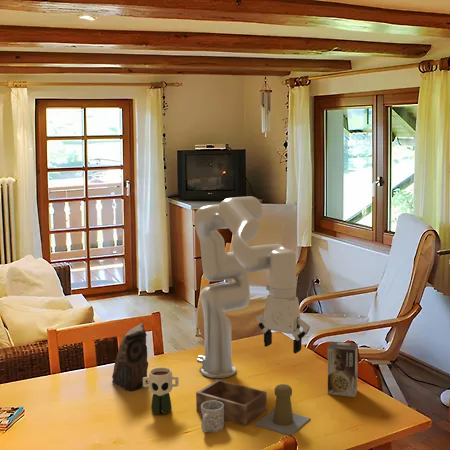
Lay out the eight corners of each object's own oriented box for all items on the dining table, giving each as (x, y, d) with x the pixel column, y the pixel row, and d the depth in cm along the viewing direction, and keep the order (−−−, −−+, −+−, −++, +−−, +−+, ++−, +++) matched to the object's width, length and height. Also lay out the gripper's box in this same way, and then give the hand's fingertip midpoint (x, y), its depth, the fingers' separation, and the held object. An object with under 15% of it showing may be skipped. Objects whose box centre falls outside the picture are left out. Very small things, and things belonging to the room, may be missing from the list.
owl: (146, 374, 226) (144, 319, 223) (158, 387, 215) (156, 330, 212) (111, 381, 221) (108, 325, 217) (122, 394, 210) (119, 336, 206)
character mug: (142, 416, 194) (141, 376, 192) (145, 406, 201) (143, 367, 199) (178, 416, 194) (177, 375, 192) (179, 405, 201) (178, 366, 199)
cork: (292, 426, 186) (292, 390, 184) (271, 424, 187) (271, 389, 185) (294, 417, 191) (294, 382, 190) (274, 415, 193) (274, 381, 191)
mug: (207, 419, 191) (206, 399, 190) (227, 423, 189) (227, 402, 188) (192, 435, 182) (192, 413, 181) (214, 439, 180) (213, 417, 179)
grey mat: (255, 425, 188) (255, 423, 188) (275, 409, 198) (275, 408, 197) (291, 435, 181) (291, 434, 181) (310, 419, 191) (310, 418, 191)
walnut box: (196, 410, 197) (196, 392, 196) (218, 396, 207) (218, 379, 206) (245, 425, 187) (245, 406, 186) (266, 410, 197) (266, 392, 196)
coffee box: (357, 389, 211) (358, 343, 208) (355, 398, 205) (356, 350, 202) (330, 386, 214) (330, 340, 211) (326, 394, 208) (327, 347, 205)
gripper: (250, 290, 186) (250, 346, 189) (303, 299, 176) (302, 358, 179) (263, 284, 192) (263, 339, 195) (315, 293, 182) (314, 350, 185)
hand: (282, 348), depth 187 cm, fingers open, 9 cm apart
